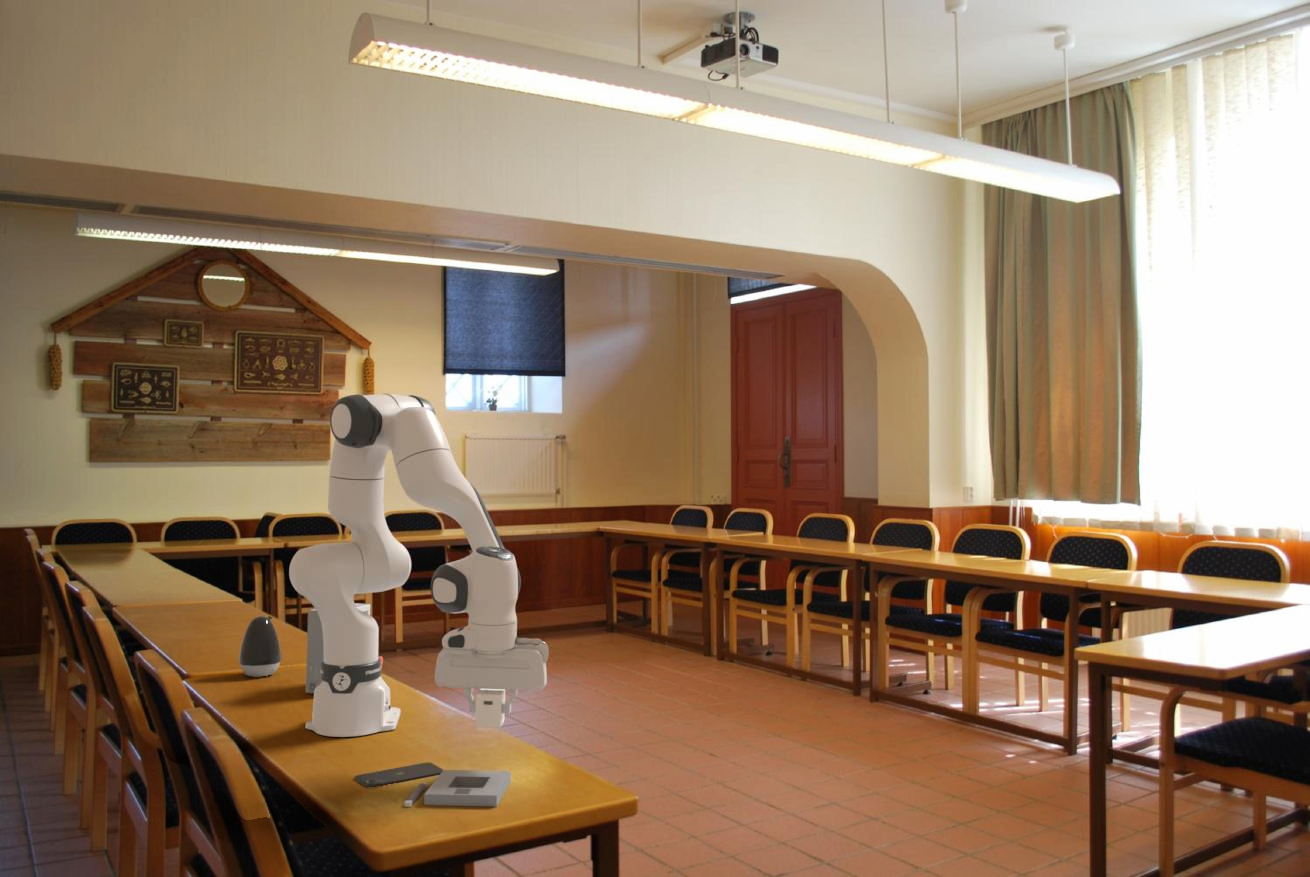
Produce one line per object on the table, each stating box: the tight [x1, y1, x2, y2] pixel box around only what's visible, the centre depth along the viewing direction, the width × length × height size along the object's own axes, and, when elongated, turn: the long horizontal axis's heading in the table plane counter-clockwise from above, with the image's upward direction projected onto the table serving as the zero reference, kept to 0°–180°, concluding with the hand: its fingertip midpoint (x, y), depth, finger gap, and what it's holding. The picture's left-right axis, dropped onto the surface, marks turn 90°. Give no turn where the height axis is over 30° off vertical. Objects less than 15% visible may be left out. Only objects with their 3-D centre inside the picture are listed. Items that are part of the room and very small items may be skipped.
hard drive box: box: [305, 602, 371, 695], centre depth 254 cm, size 16×8×20 cm, turn 161°
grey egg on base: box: [238, 615, 282, 678], centre depth 268 cm, size 10×10×15 cm
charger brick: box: [474, 688, 506, 729], centre depth 190 cm, size 5×4×6 cm
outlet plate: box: [423, 769, 512, 807], centre depth 178 cm, size 13×12×2 cm
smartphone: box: [353, 761, 444, 788], centre depth 187 cm, size 7×1×15 cm
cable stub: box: [403, 782, 428, 808], centre depth 176 cm, size 10×1×1 cm, turn 178°
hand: (490, 712), depth 191 cm, fingers closed on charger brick, 4 cm apart
